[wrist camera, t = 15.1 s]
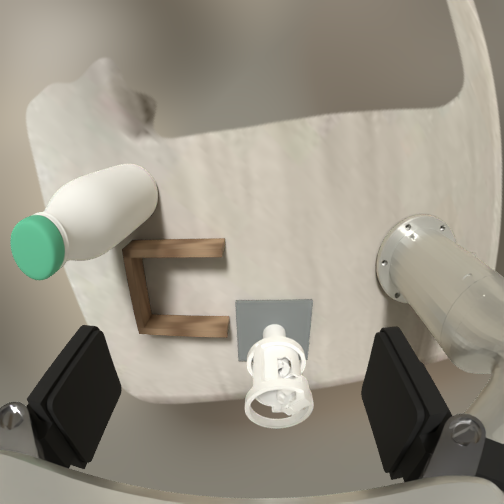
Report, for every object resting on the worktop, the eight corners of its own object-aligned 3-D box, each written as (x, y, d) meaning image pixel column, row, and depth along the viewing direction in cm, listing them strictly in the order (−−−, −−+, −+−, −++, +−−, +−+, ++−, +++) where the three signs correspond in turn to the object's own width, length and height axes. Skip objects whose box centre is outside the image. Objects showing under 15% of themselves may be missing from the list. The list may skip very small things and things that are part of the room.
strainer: (309, 334, 42) (328, 416, 28) (270, 360, 44) (274, 443, 30) (278, 302, 41) (286, 383, 27) (237, 331, 42) (229, 414, 28)
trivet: (312, 299, 41) (312, 301, 40) (306, 357, 45) (307, 359, 44) (235, 300, 41) (235, 302, 41) (238, 358, 45) (238, 361, 44)
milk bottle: (131, 149, 35) (22, 173, 16) (172, 196, 37) (92, 261, 18) (93, 192, 36) (-16, 245, 18) (131, 235, 38) (43, 318, 20)
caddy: (224, 238, 38) (221, 248, 35) (229, 322, 43) (227, 337, 39) (132, 240, 39) (122, 249, 35) (146, 319, 43) (138, 333, 40)
